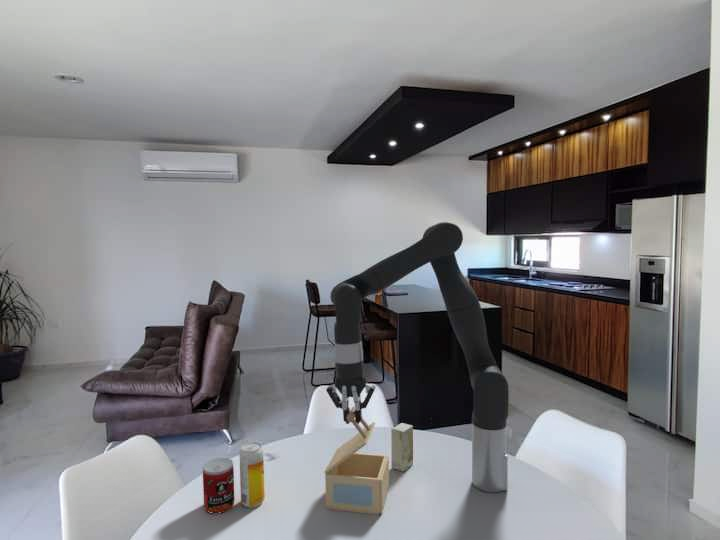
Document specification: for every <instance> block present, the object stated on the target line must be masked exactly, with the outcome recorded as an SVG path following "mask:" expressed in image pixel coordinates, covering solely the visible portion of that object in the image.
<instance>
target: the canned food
mask: <svg viewBox="0 0 720 540" xmlns="http://www.w3.org/2000/svg"><path fill="white" fill-rule="evenodd" d="M234 470H235V469H234V461H233V459H231V458H227V457H217V458H214V459H211V460H208V461H206V462H205V463H204V465H203V466H202V484H203V485H202V486H203V490H202V491H203V508H204V510H205V509H206V510H207V511H209V512H212V513H219V512H223V511H226V510H228V509H229V508H230V509H232V507H233V506H234V504H235V473H234ZM230 509H229V510H230ZM206 510H205V511H206ZM229 510H228V511H229ZM207 511H206V512H207ZM226 512H227V511H226ZM223 513H224V512H223Z"/></svg>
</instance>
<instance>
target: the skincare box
mask: <svg viewBox="0 0 720 540" xmlns="http://www.w3.org/2000/svg"><path fill="white" fill-rule="evenodd" d="M390 434H391V436H390V437H391V441H390V442H391V463H390V464H391V469H394V470H397V471H400V472H405V471H406V470H407V469H409V468H410V467H412V466H413V465H414V425H412V424H408V423H404V422H401V423H399V424H397V425H395V426H394V427H392V428H391V433H390Z"/></svg>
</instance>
